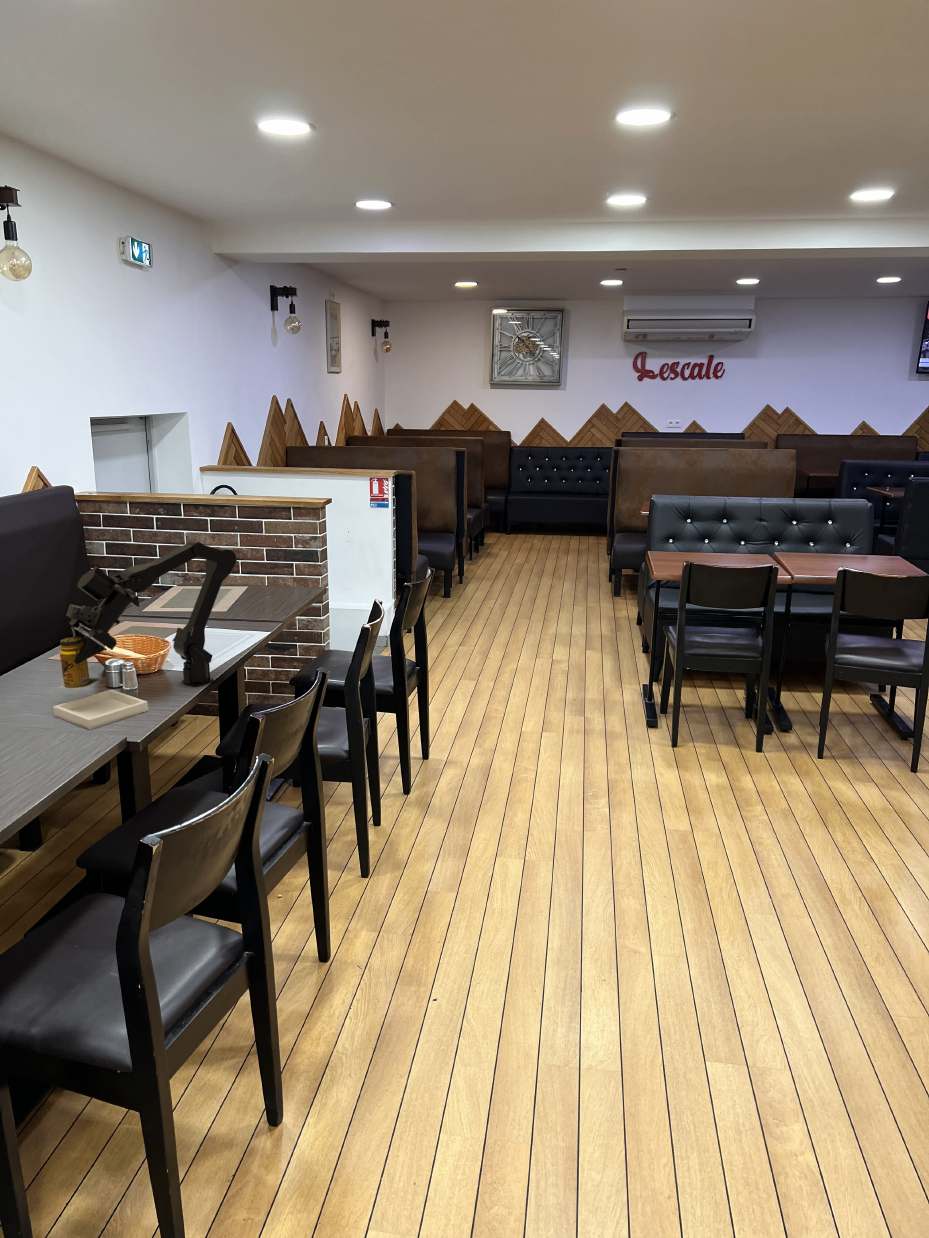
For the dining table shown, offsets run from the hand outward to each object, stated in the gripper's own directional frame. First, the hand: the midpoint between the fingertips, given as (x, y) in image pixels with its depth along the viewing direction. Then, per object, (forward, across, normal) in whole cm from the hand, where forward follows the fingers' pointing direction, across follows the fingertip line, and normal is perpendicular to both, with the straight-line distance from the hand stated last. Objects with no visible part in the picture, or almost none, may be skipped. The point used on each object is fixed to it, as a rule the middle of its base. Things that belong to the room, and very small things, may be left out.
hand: (71, 660), depth 215 cm
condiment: (+4, 0, +6) cm, 7 cm away
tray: (+7, +7, +12) cm, 15 cm away
